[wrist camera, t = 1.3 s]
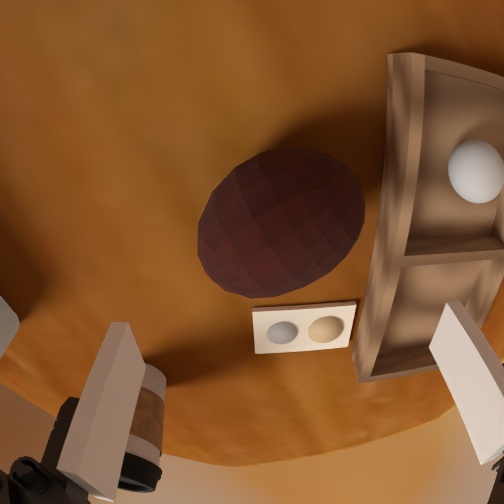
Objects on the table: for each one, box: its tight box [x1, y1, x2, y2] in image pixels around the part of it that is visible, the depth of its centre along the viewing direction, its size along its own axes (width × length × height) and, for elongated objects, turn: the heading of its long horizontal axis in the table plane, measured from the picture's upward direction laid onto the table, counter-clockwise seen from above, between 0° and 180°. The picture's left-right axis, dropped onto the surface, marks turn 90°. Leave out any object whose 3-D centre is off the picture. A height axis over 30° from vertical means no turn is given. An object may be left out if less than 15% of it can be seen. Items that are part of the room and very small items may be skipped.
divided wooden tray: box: [351, 52, 504, 383], centre depth 25 cm, size 31×14×4 cm, turn 3°
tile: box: [252, 301, 356, 354], centre depth 32 cm, size 6×10×1 cm, turn 93°
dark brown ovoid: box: [198, 148, 365, 298], centre depth 21 cm, size 9×12×9 cm
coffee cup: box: [117, 363, 166, 493], centre depth 30 cm, size 8×8×15 cm
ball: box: [448, 139, 504, 203], centre depth 20 cm, size 5×5×5 cm
